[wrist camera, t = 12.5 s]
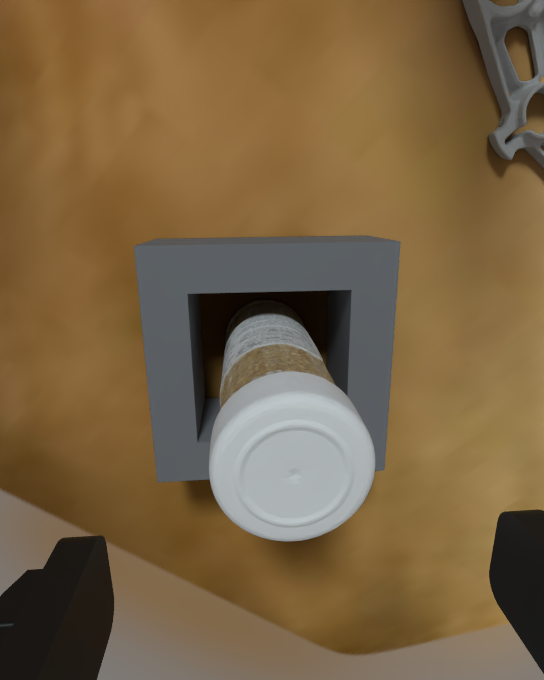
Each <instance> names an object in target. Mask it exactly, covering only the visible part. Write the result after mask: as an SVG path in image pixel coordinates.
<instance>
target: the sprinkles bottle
mask: <svg viewBox="0 0 544 680" xmlns="http://www.w3.org/2000/svg"><path fill="white" fill-rule="evenodd" d="M225 346H226V347H225V352H224V360H223V370H222V380H221V388H220V412H219V414H218V415H217V418H216V420H215V423H214V426H213V430H212V435H211V442H210V453H209V477H210V483H211V488H212V491H213V494H214V496H215V499H216V501H217V503H218V504H219V506H220V507H221V509H222V510H223V512H224V513H225V514H226V515H227V516H228V517H229V518H230V519H231V521H233V522H234V523H235V524H237V525H238V526H239V527H241V528H242V529H244V530H246V531H247V532H249V533H251V534H254V535H256V536H259V537H262V538H265V539H269V540H275V541H301V540H308V539H311V538H315V537H318V536H321V535H323V534H325V533H328V532H330V531H332V530H333V529H335V528H337V527H338V526H340V525H341V524H343V523H344V522H345V521H347V520H348V519H349V518H350V517H351V516H352V515H353V514H354V513H355V512H356V511H357V510H358V509H359V507H360V506H361V505H362V503H363V502H364V500H365V499H366V497H367V494H368V492H369V490H370V488H371V485H372V482H373V478H374V473H375V450H374V445H373V442H372V439H371V436H370V434H369V432H368V430H367V428H366V426H365V424H364V422H363V421H362V419H361V417H360V415H359V413H358V412H357V410H356V408H355V407H354V405H353V403H352V402H351V400H350V399H349V398H348V397H347V395H346V394H345V393H344V392H343V391H342V390H341V389H340V388H338V387H337V386H336V385H335V383H334V381H333V379H332V377H331V376H330V374H329V372H328V370H327V368H326V366H325V364H324V363H323V359H322V357H321V355H320V353H319V351H318V349H317V347H316V346H315V344H314V342H313V341H312V339H311V337H310V335H309V334H308V332H307V331H306V330H305V327H304V324H303V323H302V320H301V318H300V317H299V316H298V315H297V313H296V312H295V311H294V310H293V309H291V308H290V307H288V306H287V305H286V304H284V303H282V302H277V301H274V300H258V301H253V302H250V303H249V304H247V305H245V306H243V307H242V308H240V309H239V310H238V311H237V312H236V313H235V314H234V316H233V317H232V318H231V320H230V322H229V324H228V327H227V330H226V337H225Z"/></svg>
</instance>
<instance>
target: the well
mask: <svg viewBox="0 0 544 680" xmlns="http://www.w3.org/2000/svg"><path fill="white" fill-rule="evenodd" d="M134 251H135V261H136V271H137V281H138V291H139V301H140V311H141V321H142V331H143V341H144V351H145V362H146V372H147V382H148V392H149V402H150V412H151V422H152V432H153V442H154V452H155V463H156V473H157V482H171V481H190V480H209V479H210V477H209V453H210V442H211V435H212V430H213V426H214V423H215V420H216V418H217V415H218V414H219V412H220V398H209V399H205V384H204V367H203V351H202V334H201V317H200V300H199V294H201V293H242V292H284V291H325V290H328V321H327V360H326V368H327V370H328V372H329V374H330V376H331V377H332V379H333V381H334V383H335V385H336V386H337V387H338V388H340V389H341V390H342V391H343V392H344V393H345V394H346V395H347V397H348V398H349V399H350V400H351V402H352V403H353V405H354V407H355V408H356V410H357V412H358V413H359V415H360V417H361V419H362V421H363V422H364V424H365V426H366V428H367V430H368V432H369V434H370V436H371V439H372V442H373V445H374V450H375V471H381V470H384V468H385V453H386V439H387V425H388V411H389V397H390V382H391V368H392V354H393V340H394V325H395V311H396V297H397V283H398V269H399V254H400V241H394V240H389V239H383V238H378V237H372V236H309V237H246V238H182V239H155V240H152V241H148V242H145V243H142V244H139V245H136V246H134Z"/></svg>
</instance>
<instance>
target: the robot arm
mask: <svg viewBox="0 0 544 680" xmlns="http://www.w3.org/2000/svg"><path fill="white" fill-rule="evenodd" d="M489 578H490V584H491V589H492V592H493V595H494V597H495V600H496V602H497V604H498V605H499V607H500V608H501V610H502V611H503V613H504V615H505V616H506V618H507V619H508V621H509V622H510V624H511V625H512V626H513V628H514V630H515V631H516V633H517V634H518V636H519V637H520V639H521V640H522V642H523V643H524V645H525V646H526V648H527V649H528V651H529V652H530V654H531V655H532V657H533V658H534V660H535V661H536V663H537V664H538V666H539V667H540V669H541V670H542V672H543V673H544V511H543V510H524V511H508V512H503V513H501V514H500V516H499V518H498V522H497V528H496V534H495V540H494V546H493V552H492V558H491V564H490V570H489ZM113 615H114V594H113V588H112V581H111V574H110V567H109V560H108V553H107V546H106V541H105V538H104V537H103V536H85V537H70V538H62V539H60V540H59V541H58V543H57V544H56V546H55V548H54V550H53V552H52V553H51V555H50V557H49V559H48V561H47V563H46V565H45V566H44V568H43V569H36V570H27V571H26V572H25V573H24V574H23V575H22V576H21V577H20V578H19V579H18V580H17V581H16V582H15V583H13V584H12V585H11V586H10V587H9V588H8V589H7V590H6V591H5V592H4V593H3V594H2V595H1V596H0V680H97V677H98V673H99V670H100V667H101V663H102V660H103V657H104V653H105V650H106V647H107V643H108V640H109V636H110V633H111V628H112V623H113Z"/></svg>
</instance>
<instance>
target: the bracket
mask: <svg viewBox="0 0 544 680" xmlns="http://www.w3.org/2000/svg"><path fill="white" fill-rule="evenodd" d="M462 2H463V4H464V7H465V10H466V13H467V16H468V20H469V22H470V24H471V27H472V29H473V31H474V33H475V35H476V37H477V39H478V42H479V46H480V49H481V53H482V56H483V60H484V63H485V67H486V70H487V74H488V77H489V79H490V82H491V85H492V87H493V90H494V92H495V95H496V98H497V100H498V103H499V106H500V109H501V112H502V116H501V119H500V123H499V124H500V125H501V126H500V128H499V127H497V128H496V130H495V131H494V132H492V133H490V134H489V135H488V138H489V141H490V143H491V145H492V147H493V149H494V150H495V151H496V153H497V154H498V155H499V156H500V157H501V158H503V159H507V160H512V158H513V156H514V153H515V152H516V151H517V150H518V149H521V148H523V149H525V150H526V151H527V152H528V153H529V154H530V155H531V156H532V157H533V158H534V159H535V160H536V161H537V162H538V163H539V164H540V165H541V166H542V167H543V168H544V151H543V150H542V149H541V145H542V146H543V147H544V132H543V133H542V134H537V133H535V132H534V131H533V130H528V131H525V132H521V133H518V134H515V135H514V136H512V137H511V138H510V139H509V140H508V141H507V142H506V143H505V139H506V138H507V137H508V136H509V135H510V134H512V133H513V132H514V131H515V130H516V129H518V128H519V127H522V126H524V125H525V124H526V123H527V120H526V108H527V105H528V103H529V100H530V99H531V97H532V96H533V94H534V93H536V92H538V93H541V94H543V95H544V83H540V80H541V78H542V76H544V0H518V2H517V3H516V5H514V6H505V7H503V6H499V5H496V4H494V3H493V2H491V1H490V0H462ZM516 26H518V27H520V28H523V29H524V30H526V31H527V32H528V37H529V43H530V48H531V54H532V60H533V65H534V71H535V77H534V78H533V79H532V80H529V81H520V80H519V78H518V76H517V73H516V71H515V68H514V66H513V64H512V61H511V59H510V56H509V54H508V51H507V49H506V46H505V43H504V39H505V35H506V32H507V31H508V30H509V29H512V28H514V27H516ZM508 91H510V93H511V96H510V95H509V93H508Z"/></svg>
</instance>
